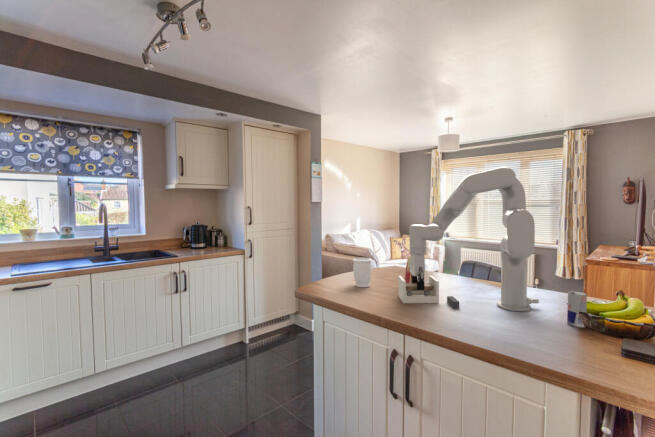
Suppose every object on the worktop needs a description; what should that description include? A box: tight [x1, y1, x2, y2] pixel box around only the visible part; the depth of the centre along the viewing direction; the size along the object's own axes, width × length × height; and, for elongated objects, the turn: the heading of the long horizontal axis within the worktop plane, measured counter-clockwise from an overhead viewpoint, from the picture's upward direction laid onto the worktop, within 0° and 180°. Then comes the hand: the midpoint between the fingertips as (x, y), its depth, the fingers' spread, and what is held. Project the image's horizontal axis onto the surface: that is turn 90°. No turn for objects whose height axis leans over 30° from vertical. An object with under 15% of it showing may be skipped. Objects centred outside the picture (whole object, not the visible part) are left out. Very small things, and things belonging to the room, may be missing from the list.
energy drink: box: [566, 290, 588, 329], centre depth 112 cm, size 5×5×12 cm
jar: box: [352, 256, 373, 288], centre depth 171 cm, size 11×10×15 cm
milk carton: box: [404, 254, 412, 283], centre depth 164 cm, size 9×9×20 cm
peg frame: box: [397, 275, 440, 304], centre depth 145 cm, size 16×11×10 cm
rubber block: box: [446, 295, 460, 310], centre depth 136 cm, size 2×8×3 cm, turn 178°
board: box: [406, 282, 433, 291], centre depth 145 cm, size 12×6×2 cm, turn 88°
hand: (417, 287), depth 145 cm, fingers open, 9 cm apart
